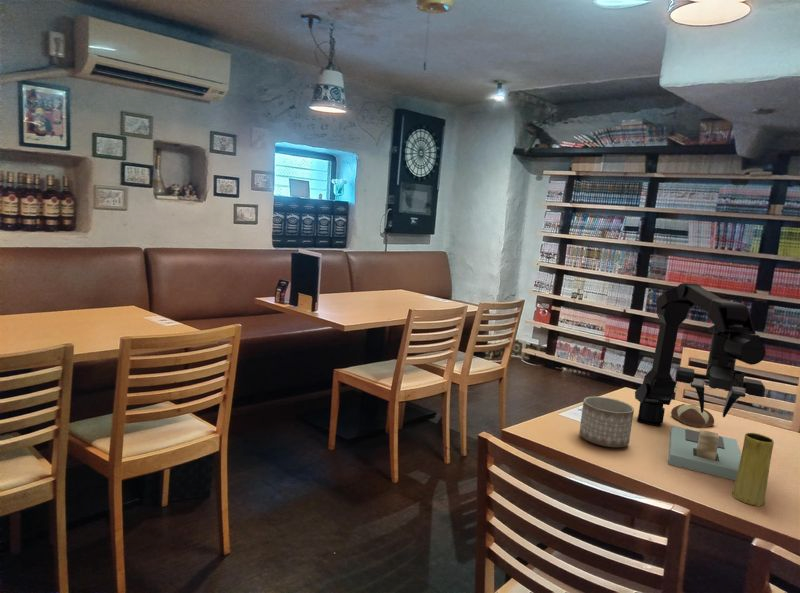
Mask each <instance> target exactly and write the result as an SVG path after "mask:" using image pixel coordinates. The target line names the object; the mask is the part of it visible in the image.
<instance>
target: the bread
mask: <svg viewBox="0 0 800 593" xmlns="http://www.w3.org/2000/svg"><path fill="white" fill-rule="evenodd" d="M670 414H671V417H672V418H673V419H674V420H677V421H679V422H680V423H682V424H684V425H686V426H687V427H688V426H689V427H693V428H698V429H699V428H700V429H701V428H709V427H712V426H713V425H714V424H715V418H714V415H713V414H712V413H711V412H709V411H708V410H706V409H704V410H703V413H701V408H700V406H697V405H694V404H687V405H686V404H684V403H682V404H679V405H676V406H674V407H673V408H671V411H670Z"/></svg>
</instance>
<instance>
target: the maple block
mask: <svg viewBox="0 0 800 593" xmlns="http://www.w3.org/2000/svg"><path fill="white" fill-rule="evenodd" d="M699 431H700V433H699V439H698V445H697V451H696V456H698V457H702V458H706V459H710V460H714V461H715V459H716V453H717V448H718V442H719V436H720V435H719V433H717V432H714V431H709V430H703V429H699Z"/></svg>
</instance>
